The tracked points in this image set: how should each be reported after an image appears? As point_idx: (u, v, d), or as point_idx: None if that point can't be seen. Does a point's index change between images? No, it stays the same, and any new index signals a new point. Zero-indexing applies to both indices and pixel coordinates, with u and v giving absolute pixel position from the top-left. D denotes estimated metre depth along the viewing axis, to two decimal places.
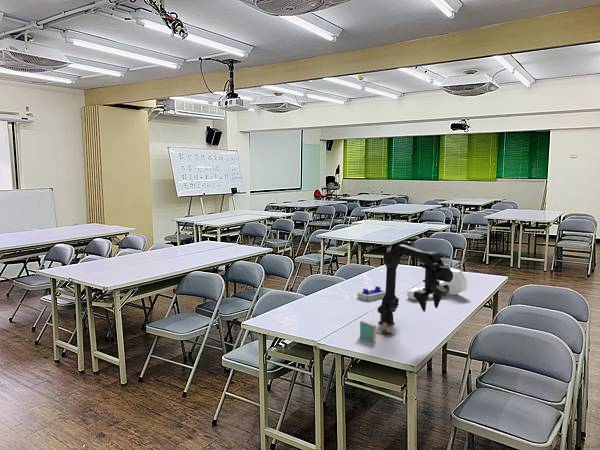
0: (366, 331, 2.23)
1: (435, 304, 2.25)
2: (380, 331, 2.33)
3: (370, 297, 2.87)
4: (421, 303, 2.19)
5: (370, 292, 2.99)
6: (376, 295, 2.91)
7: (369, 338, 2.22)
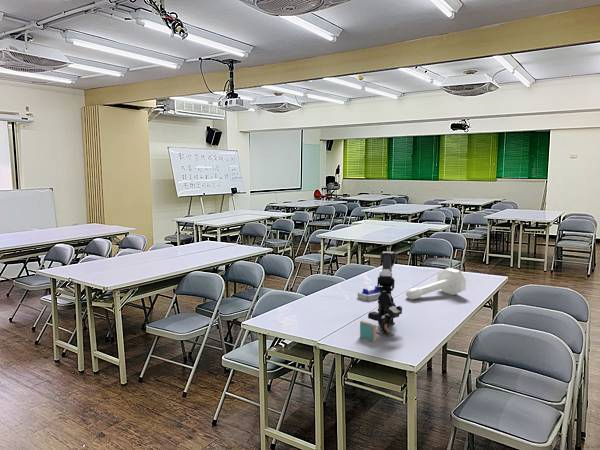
0: (366, 331, 2.23)
1: None
2: (380, 331, 2.33)
3: (370, 297, 2.87)
4: (380, 322, 2.29)
5: (370, 292, 2.99)
6: (376, 295, 2.91)
7: (369, 338, 2.22)
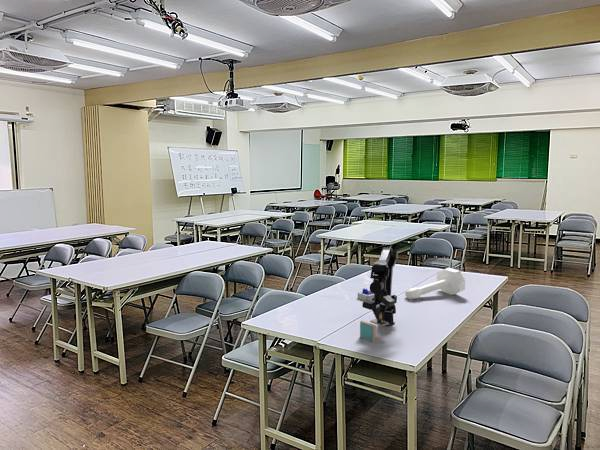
0: (366, 331, 2.23)
1: None
2: (375, 320, 2.30)
3: (370, 297, 2.87)
4: (374, 311, 2.26)
5: (370, 292, 2.99)
6: None
7: (369, 338, 2.22)
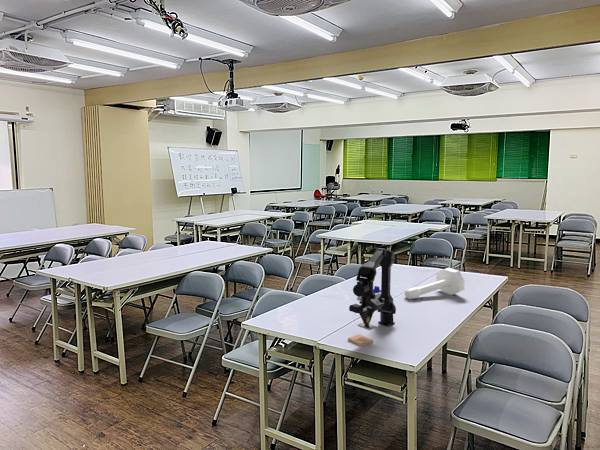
0: None
1: None
2: (362, 324, 2.24)
3: None
4: (362, 315, 2.21)
5: None
6: (376, 295, 2.91)
7: None
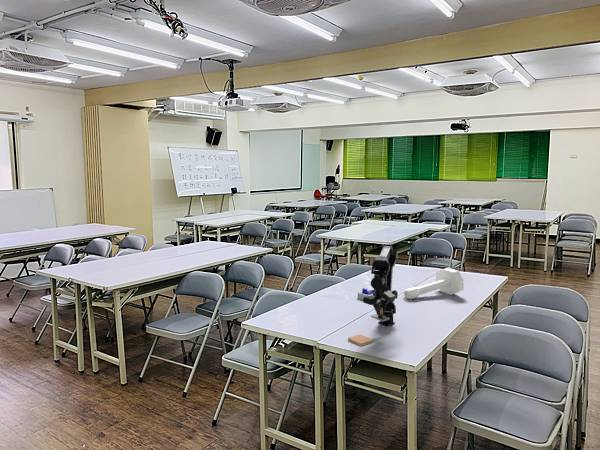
0: None
1: None
2: (376, 315, 2.30)
3: None
4: (375, 307, 2.27)
5: (370, 292, 2.99)
6: None
7: None
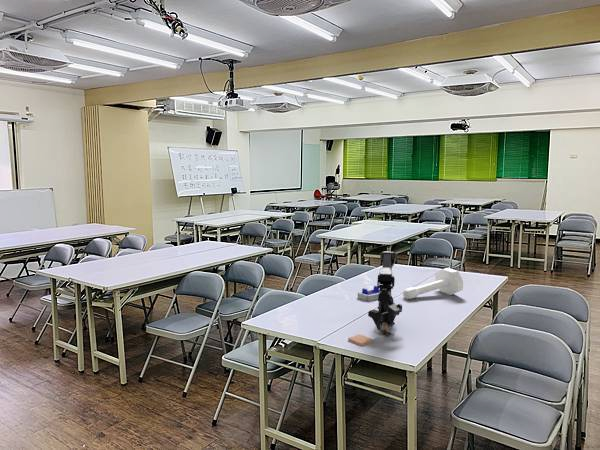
0: None
1: (389, 322, 2.34)
2: (380, 331, 2.33)
3: (370, 297, 2.87)
4: (375, 322, 2.28)
5: (370, 292, 2.99)
6: (376, 295, 2.91)
7: None
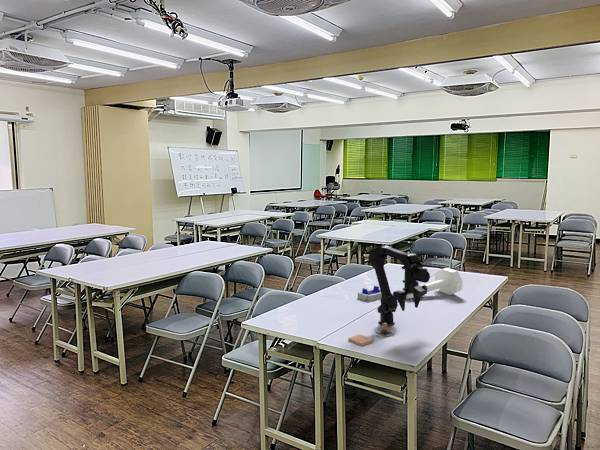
0: None
1: (415, 304, 2.34)
2: (380, 331, 2.33)
3: (370, 297, 2.87)
4: (400, 302, 2.28)
5: (370, 292, 2.99)
6: (376, 295, 2.91)
7: None
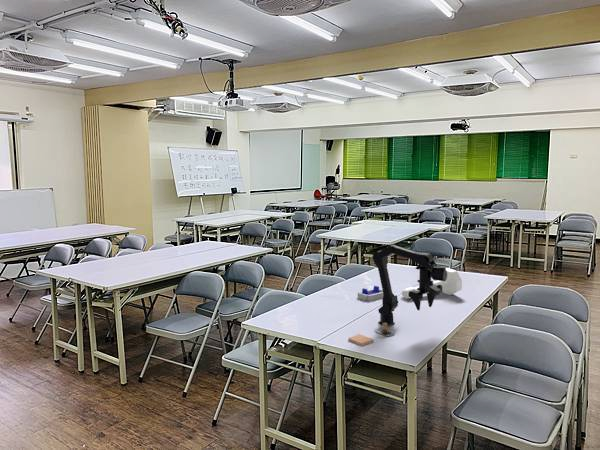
0: None
1: (429, 303, 2.35)
2: (380, 331, 2.33)
3: (370, 297, 2.87)
4: (416, 302, 2.29)
5: (370, 292, 2.99)
6: (376, 295, 2.91)
7: None
